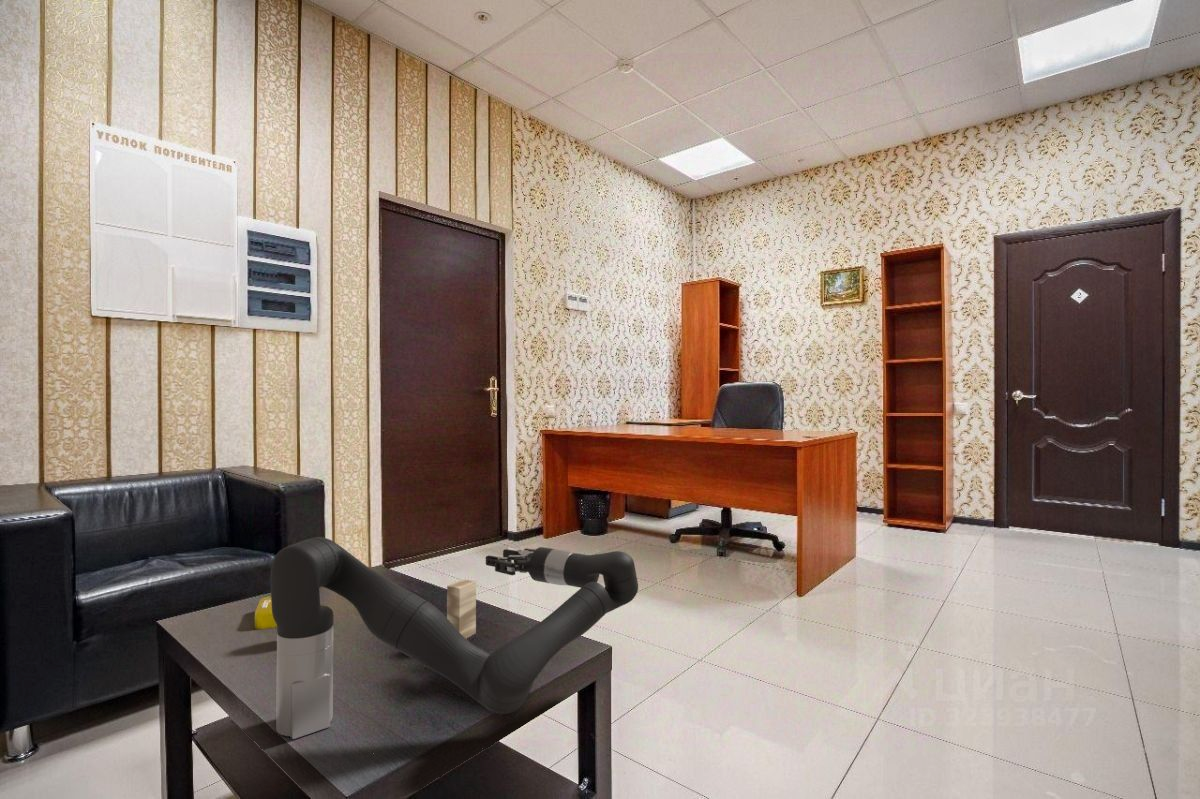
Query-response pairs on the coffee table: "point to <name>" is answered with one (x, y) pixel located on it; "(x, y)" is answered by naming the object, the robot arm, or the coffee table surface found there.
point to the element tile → (264, 614)
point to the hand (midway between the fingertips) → (495, 556)
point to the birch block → (462, 606)
